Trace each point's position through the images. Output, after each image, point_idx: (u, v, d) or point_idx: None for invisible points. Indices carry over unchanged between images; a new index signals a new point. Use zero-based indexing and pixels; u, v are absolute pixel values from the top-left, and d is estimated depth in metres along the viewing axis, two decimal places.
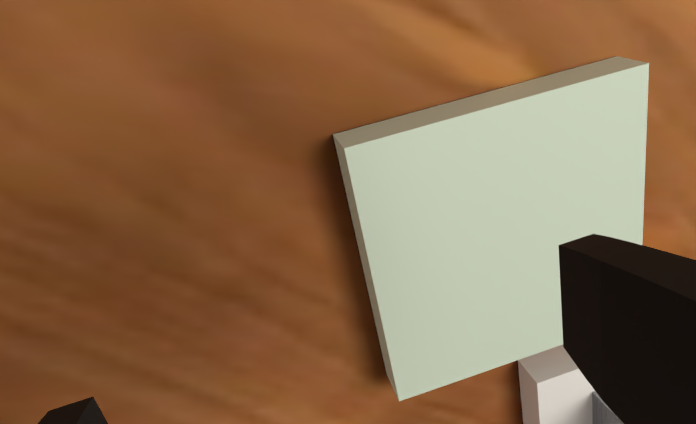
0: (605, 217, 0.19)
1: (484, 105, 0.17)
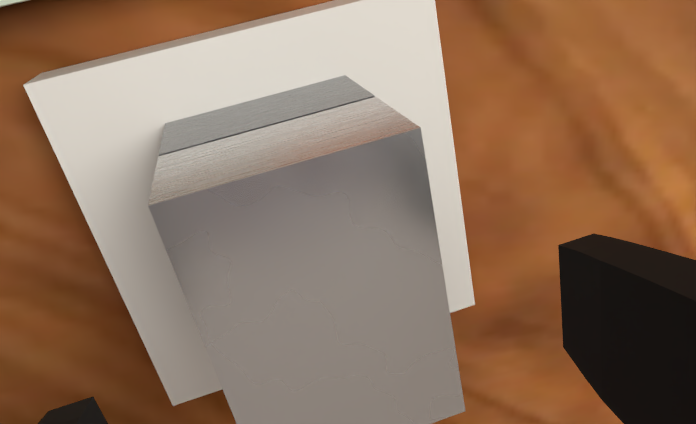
0: None
1: None
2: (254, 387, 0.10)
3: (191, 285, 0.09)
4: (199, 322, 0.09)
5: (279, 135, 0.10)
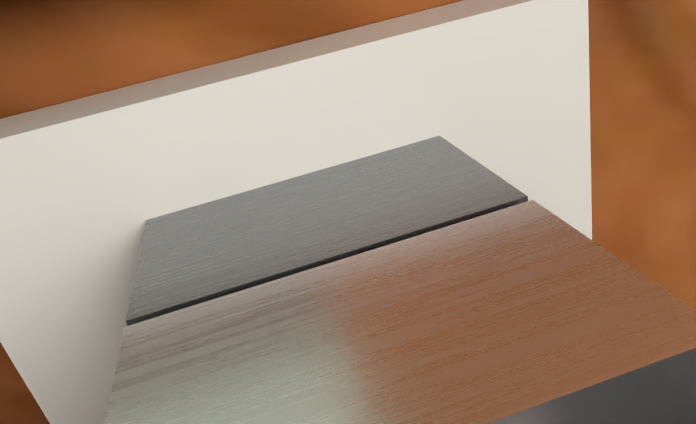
0: None
1: None
2: None
3: None
4: None
5: (367, 298, 0.05)
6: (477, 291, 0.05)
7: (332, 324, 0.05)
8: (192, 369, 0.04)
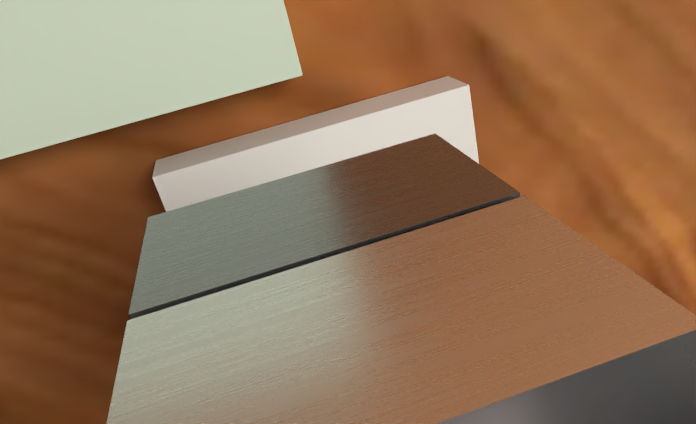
0: None
1: None
2: None
3: None
4: None
5: (362, 292, 0.05)
6: (468, 284, 0.05)
7: (328, 317, 0.05)
8: (193, 360, 0.05)
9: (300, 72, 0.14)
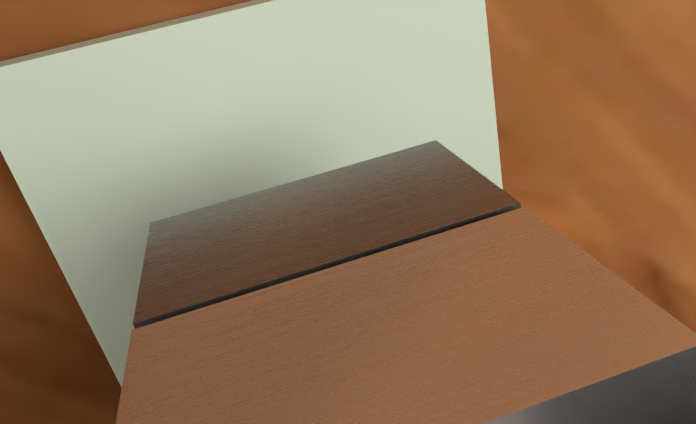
0: None
1: (213, 13, 0.11)
2: None
3: None
4: None
5: (365, 303, 0.05)
6: (470, 297, 0.05)
7: (331, 329, 0.05)
8: (198, 372, 0.05)
9: None
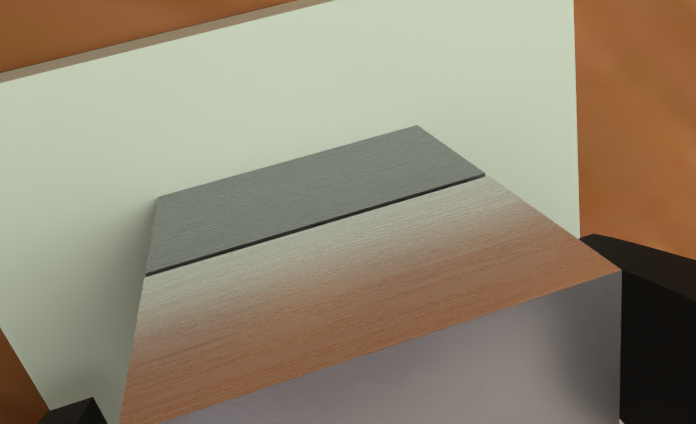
0: None
1: (219, 26, 0.08)
2: None
3: None
4: None
5: (345, 252, 0.06)
6: (434, 245, 0.06)
7: (316, 271, 0.06)
8: (202, 305, 0.05)
9: None
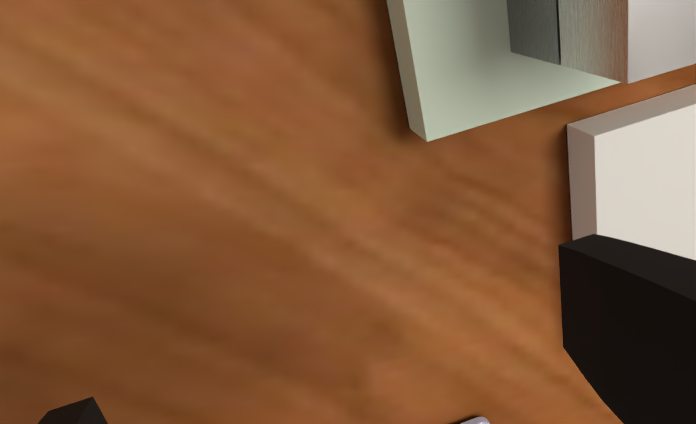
0: None
1: None
2: None
3: None
4: None
5: None
6: None
7: None
8: None
9: None
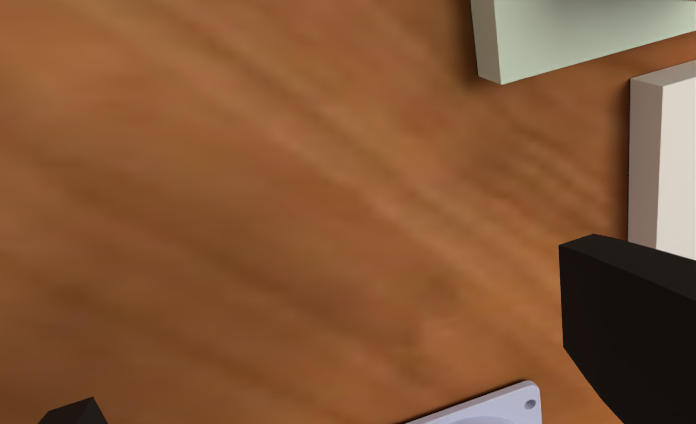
0: None
1: None
2: None
3: None
4: None
5: None
6: None
7: None
8: None
9: None
